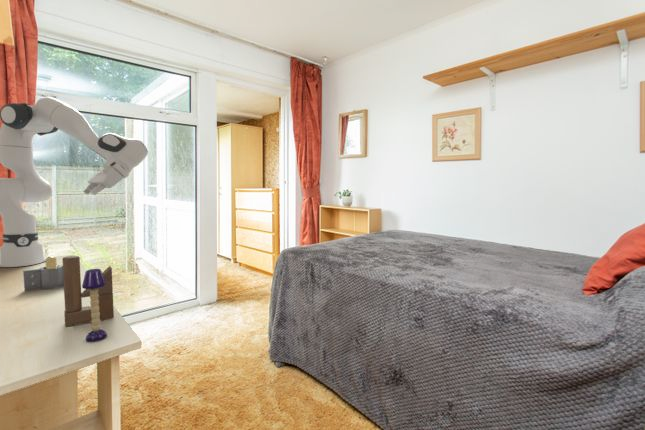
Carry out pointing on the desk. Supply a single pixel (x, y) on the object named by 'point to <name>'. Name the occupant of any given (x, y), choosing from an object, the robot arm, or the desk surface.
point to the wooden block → (84, 294)
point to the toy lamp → (94, 302)
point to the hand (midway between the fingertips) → (88, 193)
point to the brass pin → (51, 262)
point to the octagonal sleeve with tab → (43, 278)
